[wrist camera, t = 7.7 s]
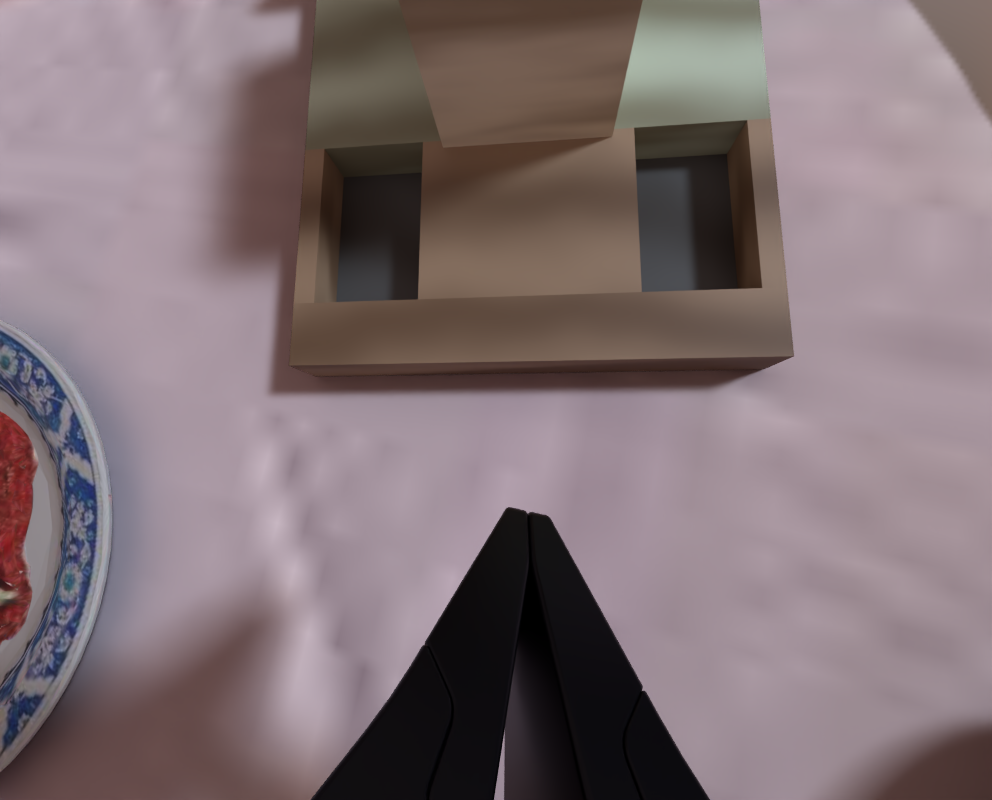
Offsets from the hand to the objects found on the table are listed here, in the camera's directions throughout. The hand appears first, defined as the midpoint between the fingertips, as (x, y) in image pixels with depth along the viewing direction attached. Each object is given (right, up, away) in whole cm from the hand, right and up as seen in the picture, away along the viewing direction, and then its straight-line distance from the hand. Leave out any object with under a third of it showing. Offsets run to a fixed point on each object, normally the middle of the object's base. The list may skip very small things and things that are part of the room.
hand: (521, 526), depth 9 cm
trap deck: (+1, +16, +15) cm, 22 cm away
